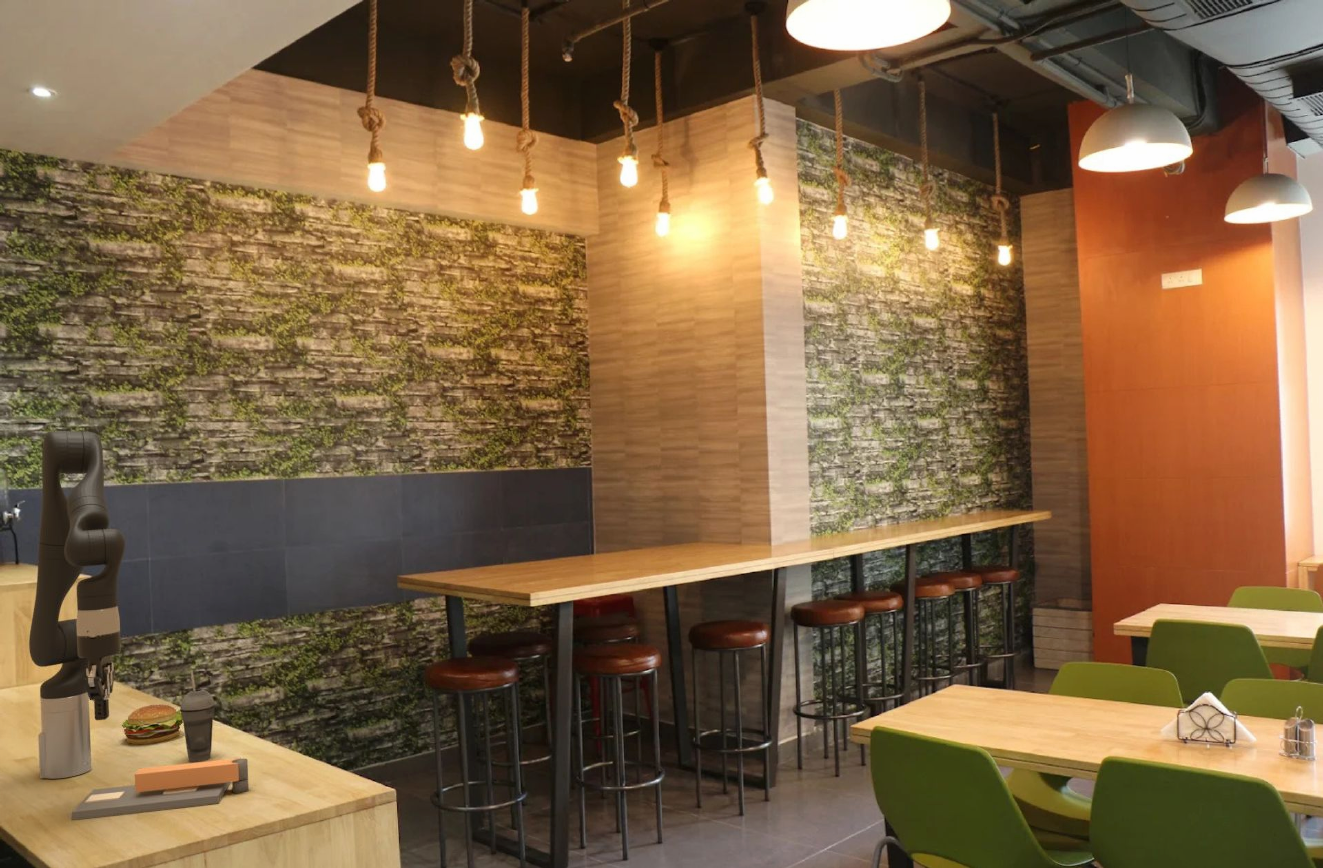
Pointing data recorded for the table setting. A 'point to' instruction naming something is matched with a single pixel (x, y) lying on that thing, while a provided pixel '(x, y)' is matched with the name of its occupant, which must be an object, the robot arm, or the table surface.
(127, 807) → the label board
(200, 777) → the swing bar
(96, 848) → the table surface
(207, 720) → the beverage cup
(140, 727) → the food
